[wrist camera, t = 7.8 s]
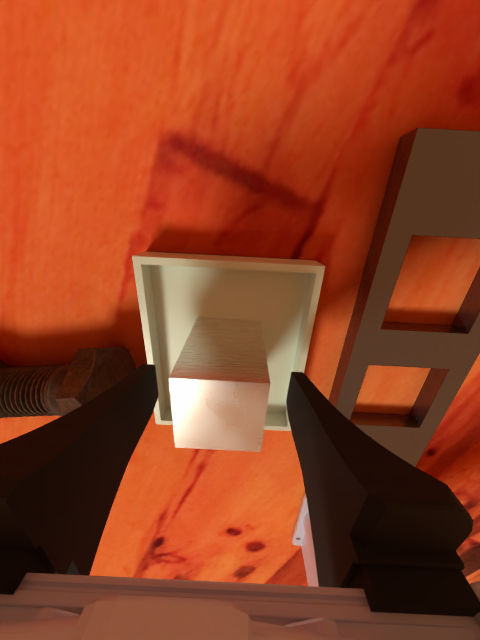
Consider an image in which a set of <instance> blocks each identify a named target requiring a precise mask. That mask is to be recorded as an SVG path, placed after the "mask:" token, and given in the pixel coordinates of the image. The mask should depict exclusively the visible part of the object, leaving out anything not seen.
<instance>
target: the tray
mask: <svg viewBox="0 0 480 640" xmlns="http://www.w3.org/2000/svg"><path fill="white" fill-rule="evenodd" d="M132 259H133V266H134V273H135V280H136V287H137V294H138V301H139V308H140V315H141V322H142V329H143V337H144V344H145V351H146V358H147V364H154V365H155V368H156V376H157V384H158V392H159V396H158V399H157V402H156V405H155V408H154V414H155V421H156V424H163V425H173V419H172V408H171V398H170V387H169V376H170V374H171V372H172V370H173V368H174V366H175V363H176V361H177V359H178V357H179V355H180V353H181V351H182V349H183V347H184V344H185V342H186V340H187V338H188V336H189V334H190V332H191V330H192V328H193V325H194V323H195V321H196V319H197V317H207V318H224V319H242V320H259V321H261V326H262V333H263V339H264V345H265V352H266V358H267V365H268V371H269V377H270V391H269V398H268V405H267V412H266V420H265V427H264V430H281V431H291V427H290V423H289V419H288V412H287V404H286V399H287V393H288V387H289V382H290V376H291V372H303V373H304V370H305V365H306V360H307V355H308V350H309V345H310V340H311V335H312V330H313V325H314V320H315V316H316V311H317V306H318V301H319V296H320V291H321V286H322V281H323V276H324V271H325V266H324V265H322V264H321V263H319V262H317V261H316V260H299V259H280V258H262V257H243V256H224V255H205V254H187V253H168V252H149V251H145V252H142V253H139V254H137V255H134V256H132Z"/></svg>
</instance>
